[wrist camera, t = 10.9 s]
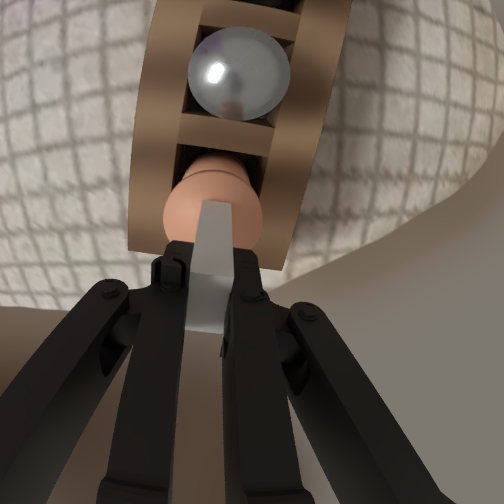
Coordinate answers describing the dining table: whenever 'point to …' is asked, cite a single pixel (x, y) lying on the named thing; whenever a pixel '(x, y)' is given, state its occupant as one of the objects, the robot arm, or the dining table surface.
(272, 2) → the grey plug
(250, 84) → the grey plug mid
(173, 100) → the wooden compartment tray
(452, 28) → the dining table surface
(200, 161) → the peach plug
